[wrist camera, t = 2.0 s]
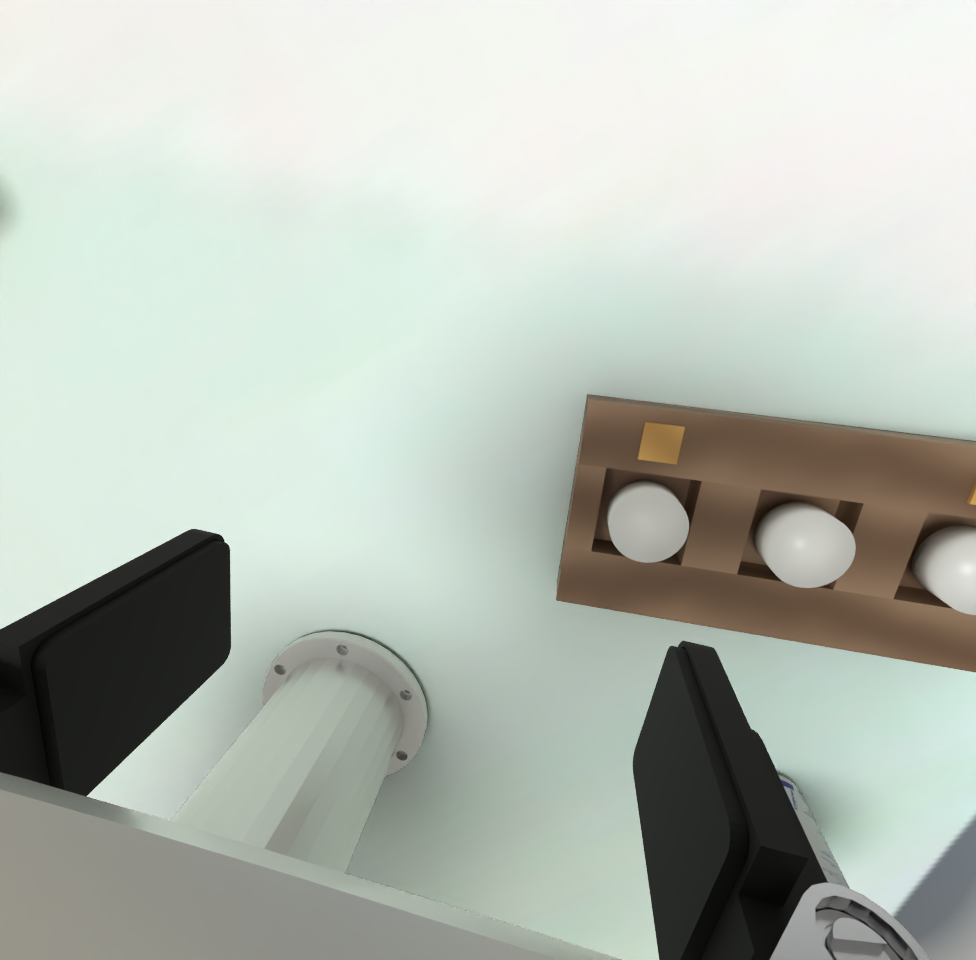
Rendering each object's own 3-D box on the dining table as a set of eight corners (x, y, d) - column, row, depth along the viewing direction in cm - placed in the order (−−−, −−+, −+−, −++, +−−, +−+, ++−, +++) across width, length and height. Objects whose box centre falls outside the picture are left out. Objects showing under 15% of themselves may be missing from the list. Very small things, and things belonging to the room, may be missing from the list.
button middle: (821, 575, 27) (840, 594, 25) (745, 563, 27) (758, 580, 26) (845, 507, 26) (867, 521, 24) (765, 496, 26) (780, 509, 24)
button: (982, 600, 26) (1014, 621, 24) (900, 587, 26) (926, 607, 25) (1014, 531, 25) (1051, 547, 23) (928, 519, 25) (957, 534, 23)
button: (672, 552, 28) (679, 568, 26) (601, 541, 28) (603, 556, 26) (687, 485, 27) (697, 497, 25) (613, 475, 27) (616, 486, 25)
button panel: (965, 648, 29) (1003, 679, 26) (557, 580, 32) (556, 602, 29) (1057, 451, 25) (1112, 464, 23) (587, 394, 28) (589, 400, 26)
